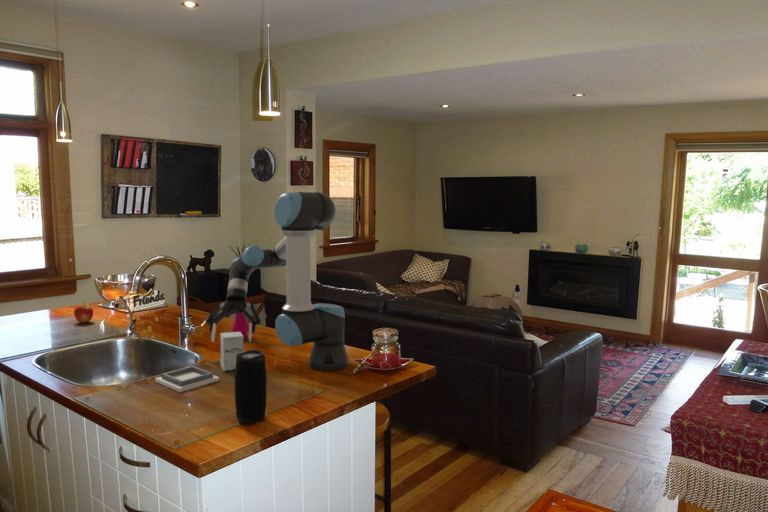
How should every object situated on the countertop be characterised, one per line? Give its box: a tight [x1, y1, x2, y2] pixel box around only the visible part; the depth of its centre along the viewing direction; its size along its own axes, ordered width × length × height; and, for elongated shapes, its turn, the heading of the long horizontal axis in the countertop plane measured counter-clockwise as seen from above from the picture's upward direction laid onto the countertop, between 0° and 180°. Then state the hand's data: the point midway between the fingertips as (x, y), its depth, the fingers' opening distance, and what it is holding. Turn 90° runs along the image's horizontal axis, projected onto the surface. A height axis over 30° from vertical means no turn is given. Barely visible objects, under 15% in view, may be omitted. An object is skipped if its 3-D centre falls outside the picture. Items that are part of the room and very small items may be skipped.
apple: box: [73, 302, 94, 324], centre depth 270 cm, size 8×8×10 cm
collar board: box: [154, 365, 220, 393], centre depth 192 cm, size 15×15×3 cm
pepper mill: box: [231, 299, 250, 341], centre depth 247 cm, size 7×7×20 cm
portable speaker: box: [233, 349, 268, 426], centre depth 161 cm, size 9×9×20 cm
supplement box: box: [219, 331, 244, 372], centre depth 207 cm, size 7×7×13 cm
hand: (231, 339), depth 210 cm, fingers open, 13 cm apart
